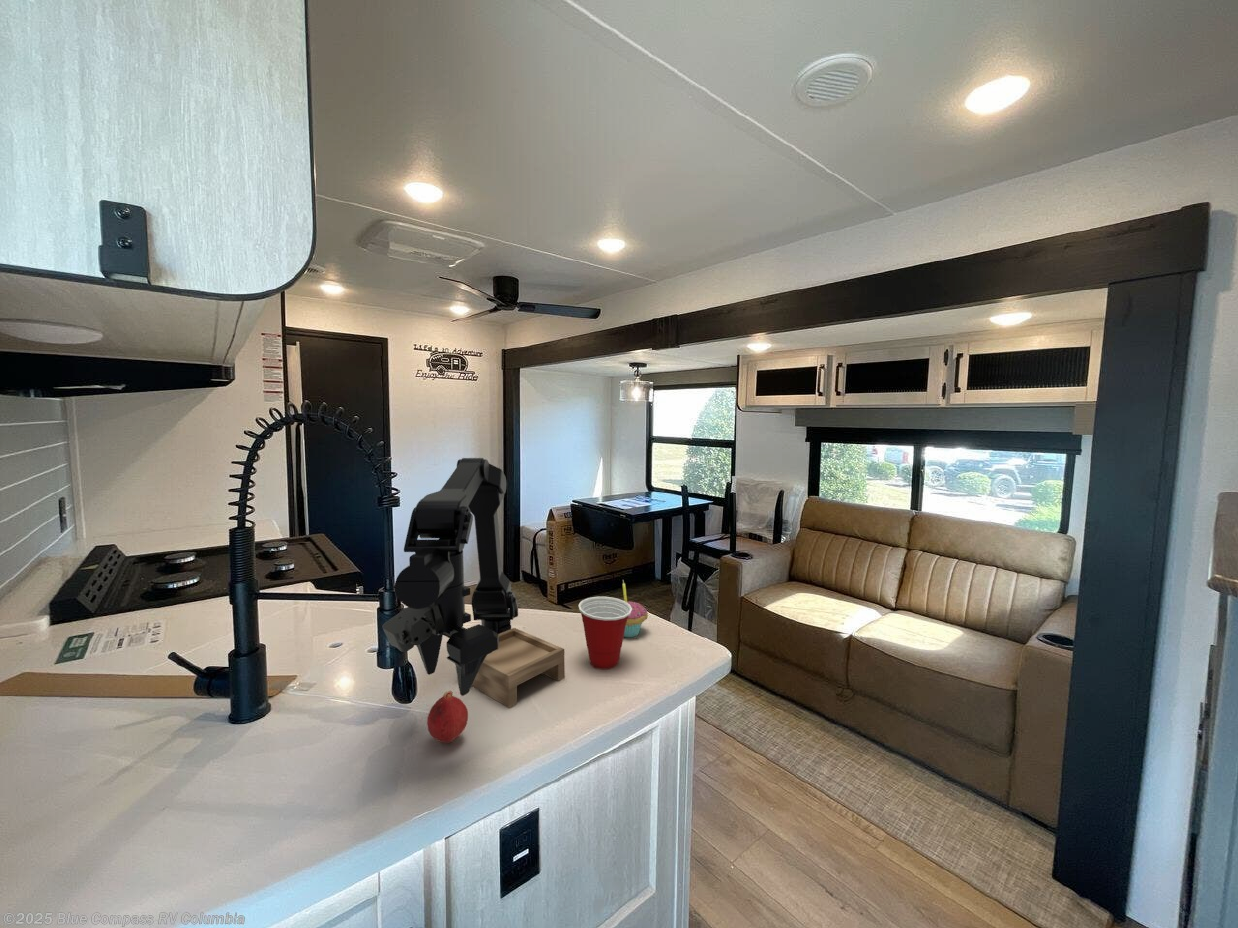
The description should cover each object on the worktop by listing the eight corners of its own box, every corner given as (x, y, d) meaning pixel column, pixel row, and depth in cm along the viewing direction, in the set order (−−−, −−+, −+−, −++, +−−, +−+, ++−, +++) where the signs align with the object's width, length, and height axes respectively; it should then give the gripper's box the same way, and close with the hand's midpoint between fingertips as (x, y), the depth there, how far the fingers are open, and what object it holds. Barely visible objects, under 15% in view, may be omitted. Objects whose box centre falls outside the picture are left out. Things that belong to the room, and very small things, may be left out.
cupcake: (603, 632, 114) (602, 581, 113) (629, 622, 120) (629, 574, 119) (628, 644, 108) (628, 591, 107) (655, 633, 113) (655, 582, 112)
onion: (445, 759, 71) (443, 707, 70) (419, 745, 74) (418, 695, 73) (476, 737, 76) (475, 688, 75) (451, 725, 79) (450, 677, 78)
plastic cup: (619, 680, 93) (619, 619, 92) (569, 669, 97) (568, 610, 96) (639, 655, 103) (639, 599, 102) (593, 646, 107) (592, 592, 106)
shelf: (459, 678, 93) (459, 649, 93) (514, 653, 103) (514, 627, 103) (509, 708, 84) (508, 675, 83) (564, 677, 94) (564, 648, 93)
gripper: (359, 583, 73) (364, 684, 74) (425, 615, 61) (429, 734, 62) (430, 566, 81) (433, 657, 82) (499, 591, 69) (502, 696, 71)
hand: (447, 683), depth 74 cm, fingers open, 9 cm apart
